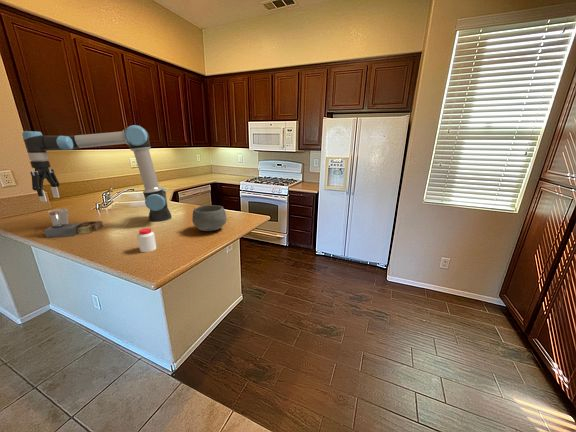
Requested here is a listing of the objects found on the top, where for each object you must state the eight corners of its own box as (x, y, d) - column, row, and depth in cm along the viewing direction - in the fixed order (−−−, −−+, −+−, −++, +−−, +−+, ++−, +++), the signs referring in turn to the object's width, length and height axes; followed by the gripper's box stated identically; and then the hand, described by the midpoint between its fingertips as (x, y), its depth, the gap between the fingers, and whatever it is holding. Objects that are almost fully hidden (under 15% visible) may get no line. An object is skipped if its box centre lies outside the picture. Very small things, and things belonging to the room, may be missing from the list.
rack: (103, 226, 159) (101, 220, 158) (96, 230, 151) (95, 224, 150) (85, 227, 157) (84, 221, 156) (78, 231, 149) (76, 225, 148)
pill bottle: (144, 246, 130) (141, 227, 127) (159, 246, 130) (156, 227, 127) (136, 252, 122) (133, 232, 119) (152, 252, 123) (149, 232, 120)
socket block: (83, 230, 152) (82, 223, 150) (74, 236, 142) (72, 228, 141) (58, 231, 149) (56, 224, 147) (46, 237, 139) (44, 229, 138)
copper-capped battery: (66, 232, 147) (60, 211, 143) (61, 235, 143) (55, 213, 139) (58, 233, 146) (52, 211, 142) (53, 235, 142) (47, 213, 138)
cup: (60, 229, 152) (55, 213, 149) (48, 228, 154) (43, 212, 151) (76, 224, 162) (72, 209, 159) (64, 223, 164) (60, 208, 160)
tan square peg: (92, 231, 150) (91, 225, 149) (89, 233, 147) (87, 227, 145) (72, 232, 148) (70, 226, 146) (68, 234, 144) (66, 228, 143)
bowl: (233, 227, 161) (232, 206, 157) (211, 238, 143) (209, 214, 138) (209, 223, 169) (207, 202, 165) (186, 232, 151) (183, 209, 147)
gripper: (46, 159, 142) (56, 195, 148) (13, 162, 121) (27, 204, 127) (61, 159, 143) (70, 195, 150) (31, 162, 122) (43, 203, 129)
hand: (50, 199), depth 138 cm, fingers open, 10 cm apart
